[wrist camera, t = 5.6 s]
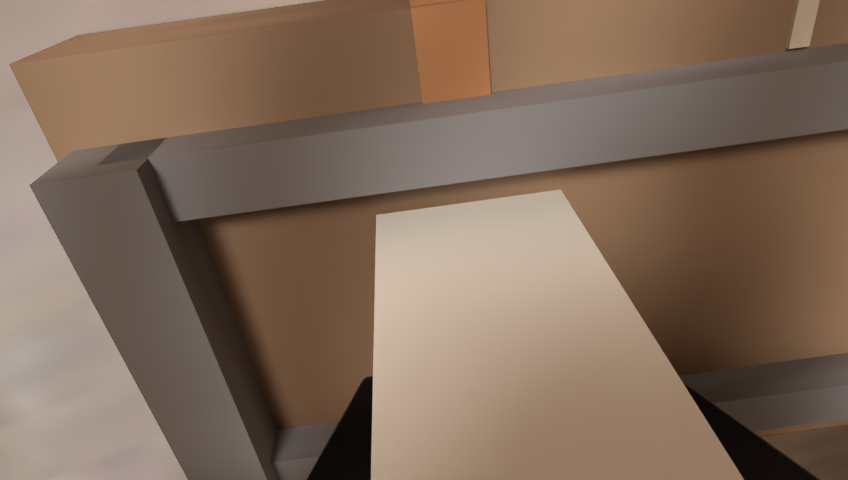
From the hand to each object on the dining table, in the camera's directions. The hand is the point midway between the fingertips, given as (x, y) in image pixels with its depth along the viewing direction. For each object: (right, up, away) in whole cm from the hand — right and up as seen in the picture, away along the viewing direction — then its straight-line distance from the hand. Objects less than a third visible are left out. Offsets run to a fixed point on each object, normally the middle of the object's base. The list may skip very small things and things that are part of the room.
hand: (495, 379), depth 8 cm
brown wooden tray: (+5, +3, +3) cm, 6 cm away
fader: (0, +1, +2) cm, 2 cm away
